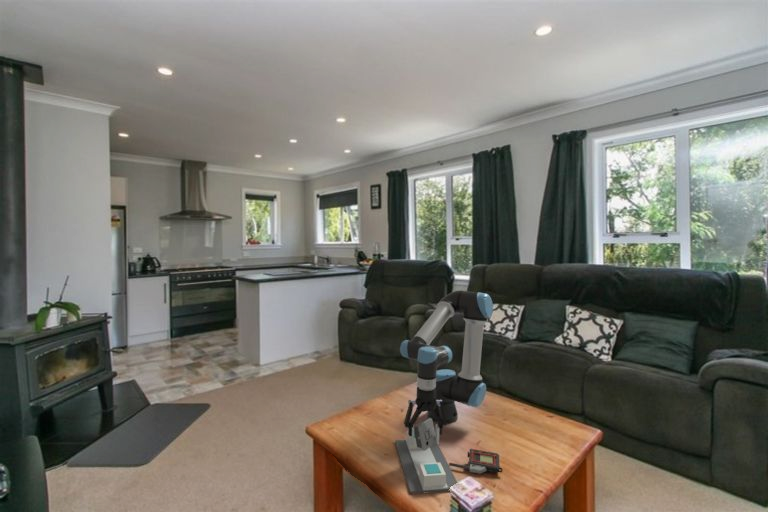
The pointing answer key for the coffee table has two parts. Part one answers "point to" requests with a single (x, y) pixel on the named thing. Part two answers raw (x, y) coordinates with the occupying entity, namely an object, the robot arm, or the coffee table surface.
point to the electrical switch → (425, 434)
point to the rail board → (412, 470)
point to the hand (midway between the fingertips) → (424, 442)
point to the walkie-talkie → (481, 462)
